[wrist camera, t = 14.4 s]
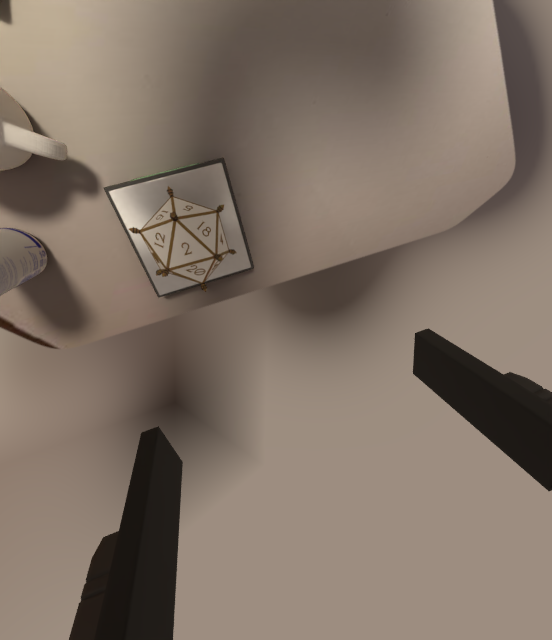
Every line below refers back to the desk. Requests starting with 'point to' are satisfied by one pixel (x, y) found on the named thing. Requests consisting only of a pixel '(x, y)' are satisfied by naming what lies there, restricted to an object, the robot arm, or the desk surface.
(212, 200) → the scale pan
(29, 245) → the beverage can
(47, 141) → the cup
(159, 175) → the scale
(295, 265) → the desk surface
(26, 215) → the desk surface
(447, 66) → the desk surface
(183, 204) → the game die
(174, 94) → the desk surface
